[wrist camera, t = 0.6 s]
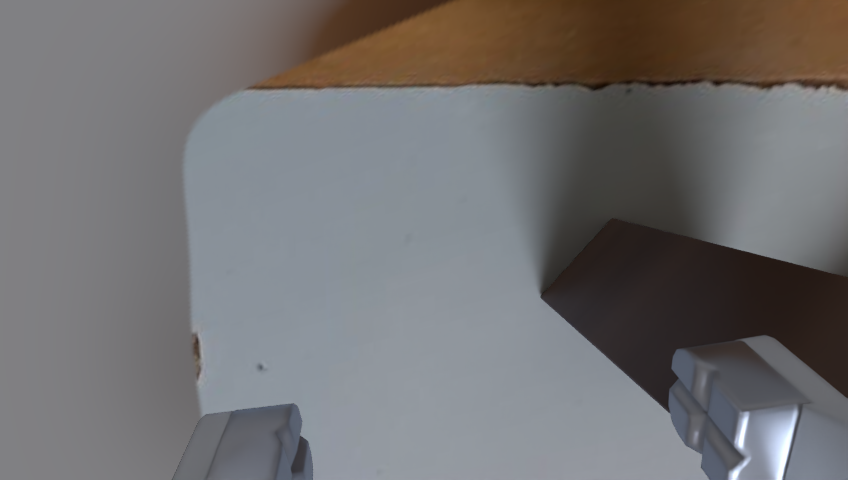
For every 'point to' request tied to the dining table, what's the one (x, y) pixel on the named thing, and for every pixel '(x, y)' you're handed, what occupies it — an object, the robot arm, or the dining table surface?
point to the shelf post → (696, 303)
